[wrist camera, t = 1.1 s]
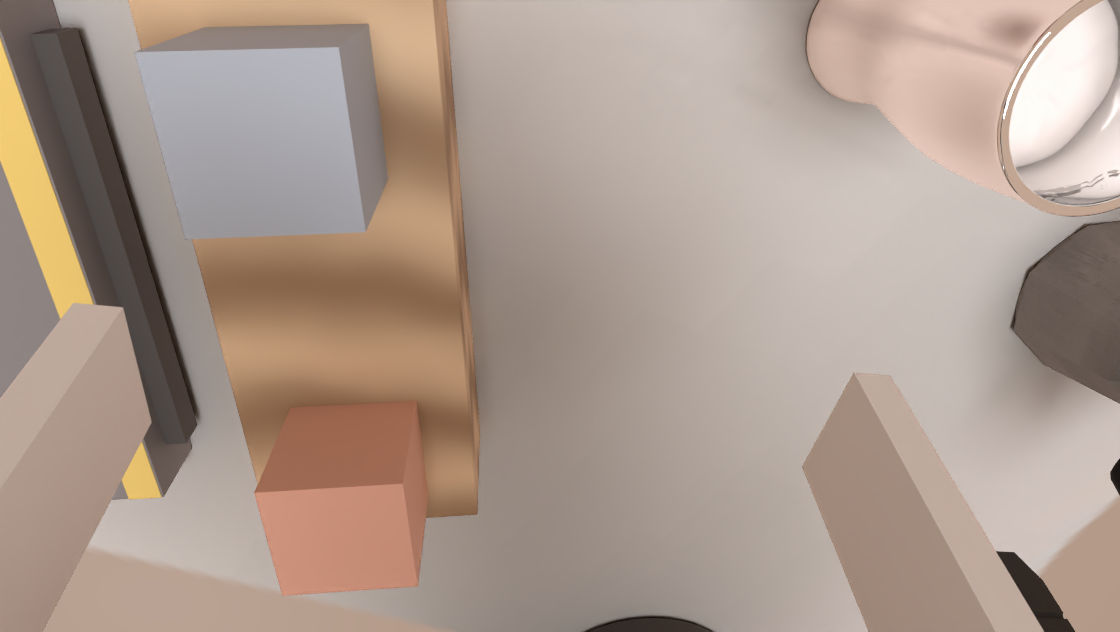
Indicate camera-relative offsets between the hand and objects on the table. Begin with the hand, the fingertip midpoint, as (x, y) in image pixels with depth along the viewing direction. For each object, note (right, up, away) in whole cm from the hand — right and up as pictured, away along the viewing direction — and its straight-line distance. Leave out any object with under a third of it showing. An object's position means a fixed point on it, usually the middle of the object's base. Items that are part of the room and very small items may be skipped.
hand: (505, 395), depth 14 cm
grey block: (-8, +9, +13) cm, 18 cm away
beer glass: (+15, +14, +20) cm, 29 cm away
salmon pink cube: (-8, -5, +20) cm, 22 cm away
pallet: (-9, +5, +23) cm, 25 cm away
